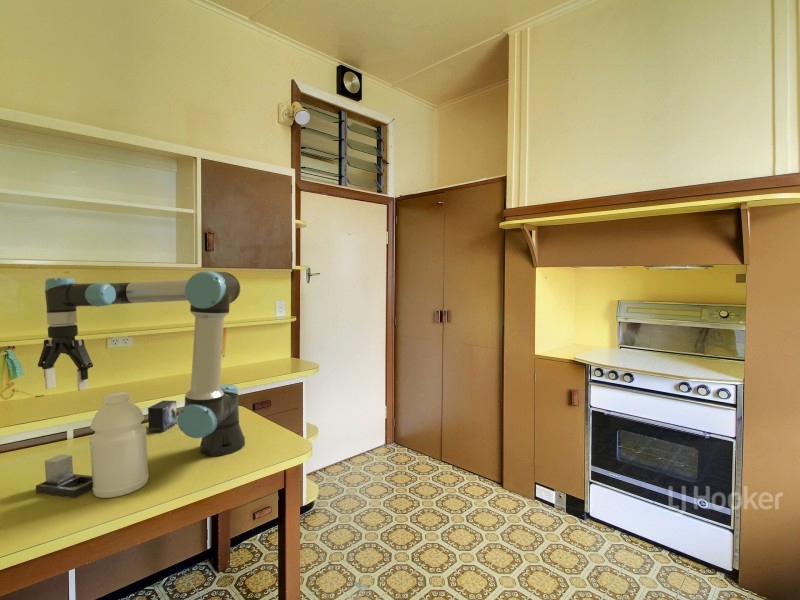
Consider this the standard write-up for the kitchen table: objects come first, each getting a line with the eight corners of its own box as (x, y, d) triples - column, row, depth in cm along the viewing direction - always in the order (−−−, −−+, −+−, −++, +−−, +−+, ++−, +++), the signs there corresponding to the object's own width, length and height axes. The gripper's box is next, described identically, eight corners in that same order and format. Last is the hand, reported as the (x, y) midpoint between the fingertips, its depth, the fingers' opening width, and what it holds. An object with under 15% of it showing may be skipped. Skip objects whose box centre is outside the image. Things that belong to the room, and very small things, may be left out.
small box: (163, 432, 164) (162, 407, 164) (147, 433, 165) (146, 407, 164) (178, 423, 175) (177, 399, 175) (163, 423, 175) (162, 400, 175)
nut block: (73, 484, 123) (71, 455, 123) (58, 491, 119) (56, 462, 118) (62, 482, 124) (60, 454, 124) (46, 490, 120) (44, 460, 119)
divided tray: (101, 484, 123) (101, 477, 123) (74, 498, 115) (74, 490, 115) (64, 479, 126) (64, 472, 126) (36, 492, 118) (35, 485, 118)
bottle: (86, 503, 112) (79, 404, 111) (100, 481, 125) (94, 392, 123) (145, 492, 118) (139, 397, 116) (152, 471, 130) (148, 386, 129)
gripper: (103, 323, 133) (107, 387, 134) (45, 323, 139) (49, 384, 140) (81, 326, 126) (85, 393, 127) (20, 326, 131) (25, 390, 132)
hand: (66, 388), depth 133 cm, fingers open, 13 cm apart
